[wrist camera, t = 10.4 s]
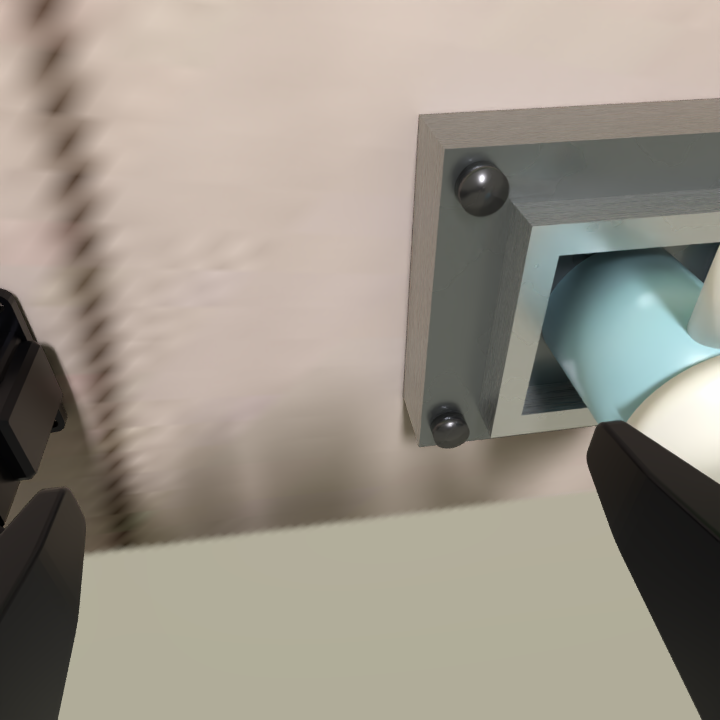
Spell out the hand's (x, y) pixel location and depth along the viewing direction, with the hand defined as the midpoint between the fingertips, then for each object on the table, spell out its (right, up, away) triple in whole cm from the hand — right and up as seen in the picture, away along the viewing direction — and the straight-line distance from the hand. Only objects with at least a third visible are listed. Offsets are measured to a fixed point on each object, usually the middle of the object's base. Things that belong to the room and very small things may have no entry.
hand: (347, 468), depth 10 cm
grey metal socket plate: (+9, +6, +13) cm, 16 cm away
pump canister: (+9, +5, +10) cm, 14 cm away
